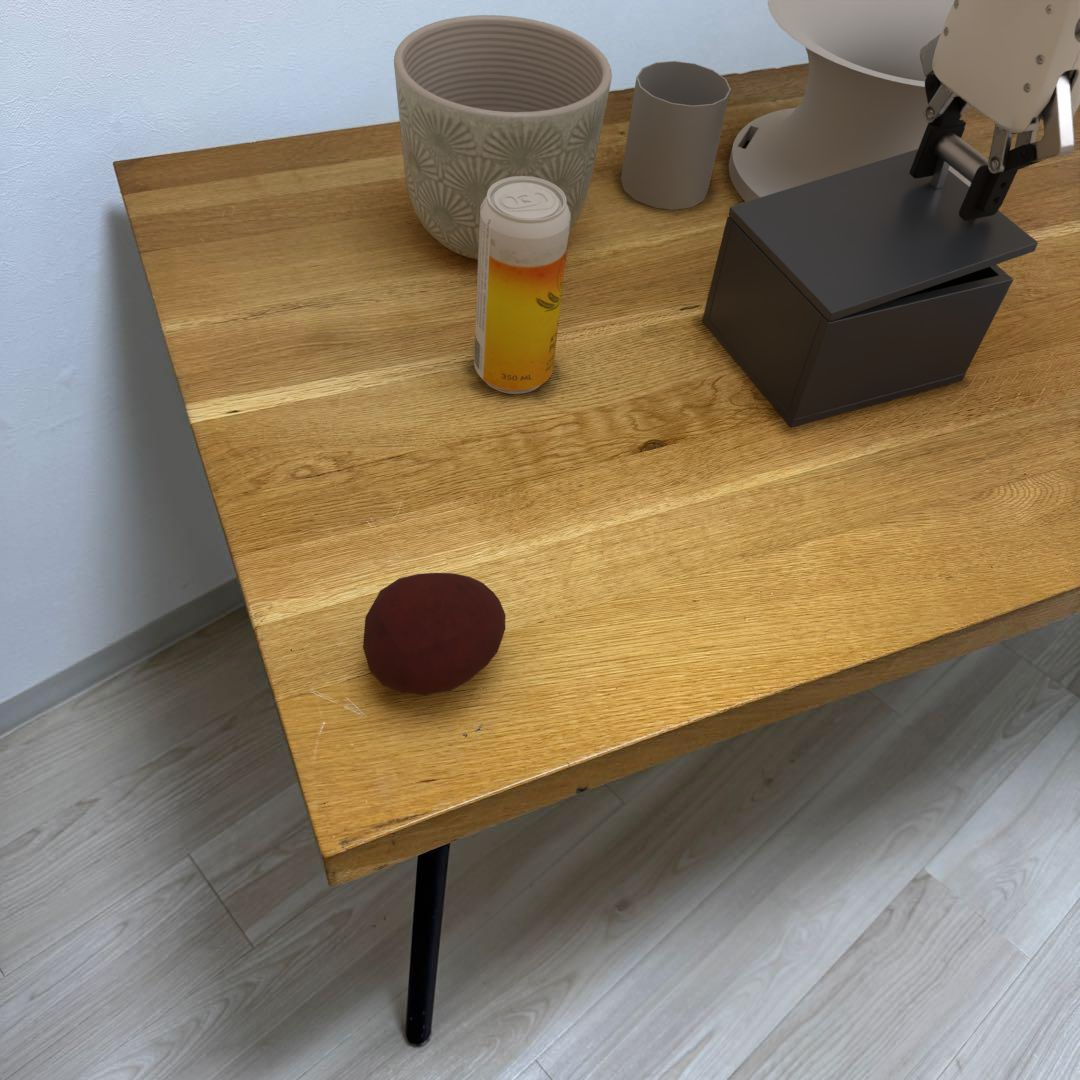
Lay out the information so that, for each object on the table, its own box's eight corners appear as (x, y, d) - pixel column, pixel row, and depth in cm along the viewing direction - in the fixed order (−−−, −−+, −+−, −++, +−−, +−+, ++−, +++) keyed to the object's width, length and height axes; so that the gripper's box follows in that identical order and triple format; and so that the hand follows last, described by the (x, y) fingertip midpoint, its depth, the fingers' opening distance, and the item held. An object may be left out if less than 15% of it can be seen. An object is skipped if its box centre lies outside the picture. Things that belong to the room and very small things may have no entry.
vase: (947, 131, 110) (1009, -24, 99) (1012, 268, 94) (1095, 102, 82) (717, 111, 109) (752, -48, 97) (743, 246, 93) (788, 75, 81)
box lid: (919, 156, 82) (935, 96, 78) (1034, 251, 74) (1060, 190, 70) (727, 215, 78) (735, 155, 74) (829, 322, 70) (843, 262, 66)
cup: (722, 182, 100) (745, 81, 92) (684, 219, 95) (705, 116, 87) (646, 153, 102) (663, 52, 95) (605, 188, 98) (619, 84, 90)
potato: (526, 680, 61) (535, 610, 56) (396, 739, 58) (392, 671, 53) (468, 592, 65) (471, 519, 60) (344, 643, 62) (335, 571, 57)
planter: (437, 166, 98) (437, -2, 86) (609, 205, 96) (633, 39, 84) (368, 262, 87) (359, 85, 75) (561, 309, 85) (581, 134, 73)
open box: (863, 284, 91) (902, 183, 83) (962, 381, 83) (1014, 279, 75) (701, 320, 85) (727, 216, 78) (790, 427, 78) (828, 323, 70)
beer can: (564, 390, 78) (586, 215, 67) (489, 405, 77) (499, 229, 65) (535, 341, 82) (552, 167, 70) (463, 355, 80) (468, 179, 69)
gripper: (1217, -24, 59) (1069, 250, 72) (1019, -127, 68) (921, 131, 82) (1121, -13, 56) (986, 268, 70) (929, -121, 66) (844, 144, 80)
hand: (952, 192), depth 76 cm, fingers closed on box lid, 5 cm apart
